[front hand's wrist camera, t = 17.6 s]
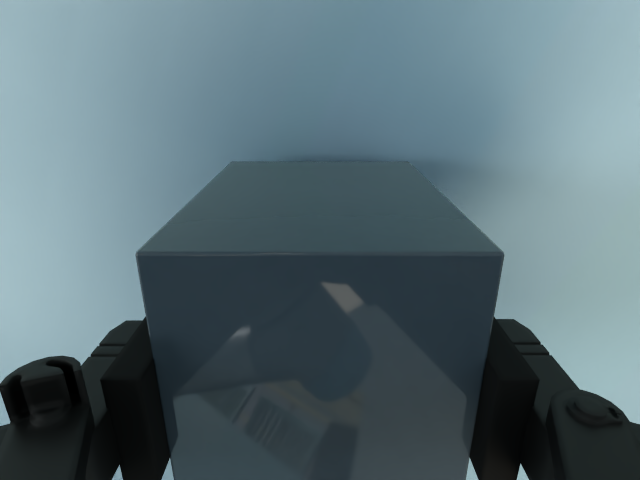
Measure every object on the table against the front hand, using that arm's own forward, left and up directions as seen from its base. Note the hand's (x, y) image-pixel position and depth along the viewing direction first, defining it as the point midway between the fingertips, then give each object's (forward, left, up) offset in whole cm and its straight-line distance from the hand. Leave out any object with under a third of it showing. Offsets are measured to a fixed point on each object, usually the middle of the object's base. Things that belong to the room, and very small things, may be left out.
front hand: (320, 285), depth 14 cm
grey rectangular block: (0, 0, -3) cm, 3 cm away
